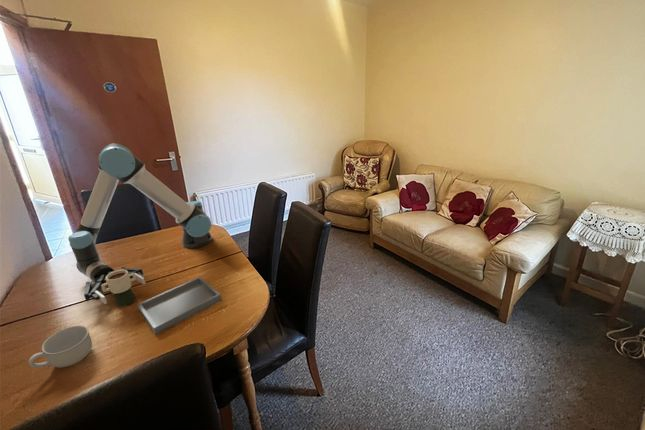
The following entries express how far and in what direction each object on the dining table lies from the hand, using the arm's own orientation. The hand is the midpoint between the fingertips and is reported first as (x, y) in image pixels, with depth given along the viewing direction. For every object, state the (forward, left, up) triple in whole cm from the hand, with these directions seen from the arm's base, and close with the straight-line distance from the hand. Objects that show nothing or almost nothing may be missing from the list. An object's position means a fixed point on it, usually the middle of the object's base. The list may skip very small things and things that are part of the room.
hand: (125, 290), depth 108 cm
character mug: (+1, -3, -7) cm, 8 cm away
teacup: (+21, +15, -7) cm, 26 cm away
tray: (-13, +15, -7) cm, 21 cm away
